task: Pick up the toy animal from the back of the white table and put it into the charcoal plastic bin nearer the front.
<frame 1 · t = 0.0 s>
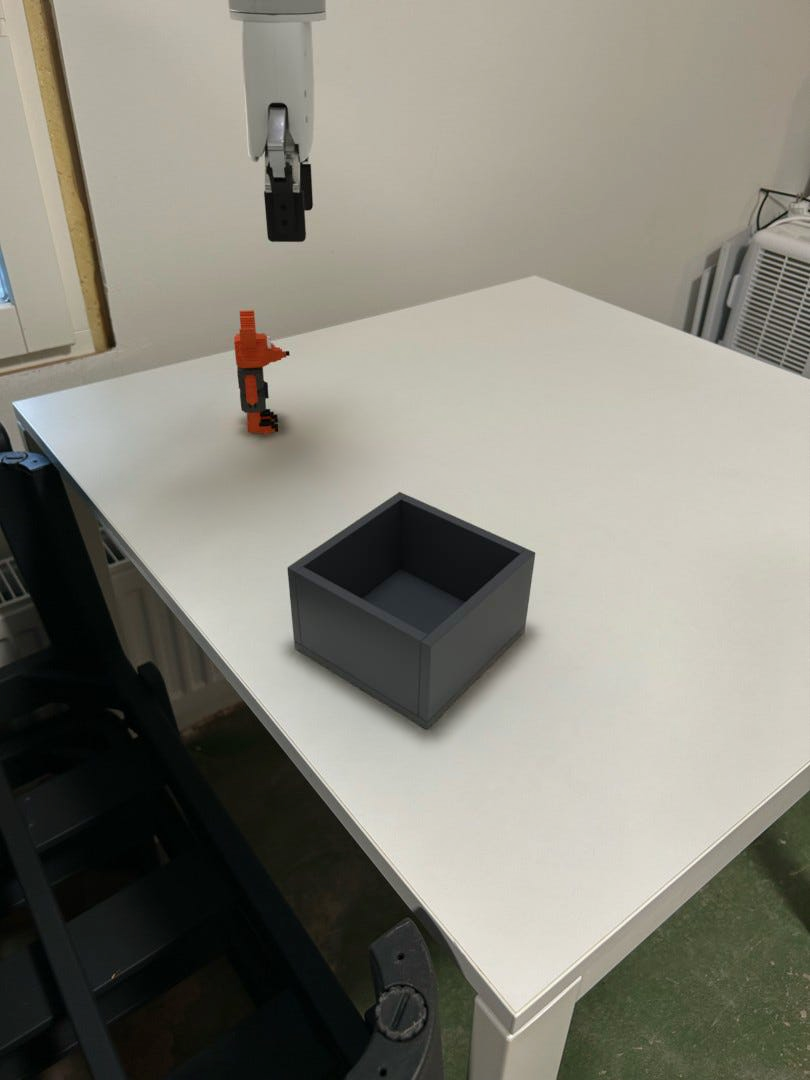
hand: (291, 224, 74), 22 cm above the table, tool pointing down, fingers open, 9 cm apart
toy animal: (269, 426, 90), on the table
bin: (411, 640, 63), on the table
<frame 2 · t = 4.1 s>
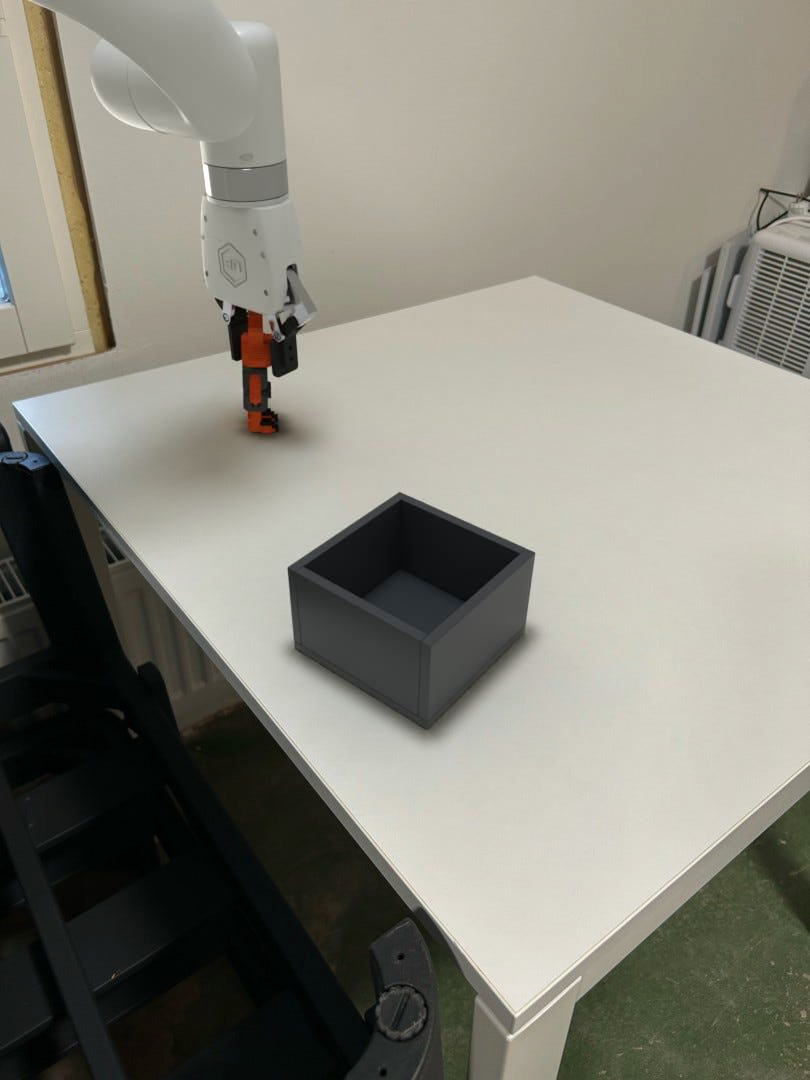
hand: (264, 362, 86), 7 cm above the table, tool pointing down, fingers closed on toy animal, 5 cm apart
toy animal: (269, 425, 90), on the table, touching gripper
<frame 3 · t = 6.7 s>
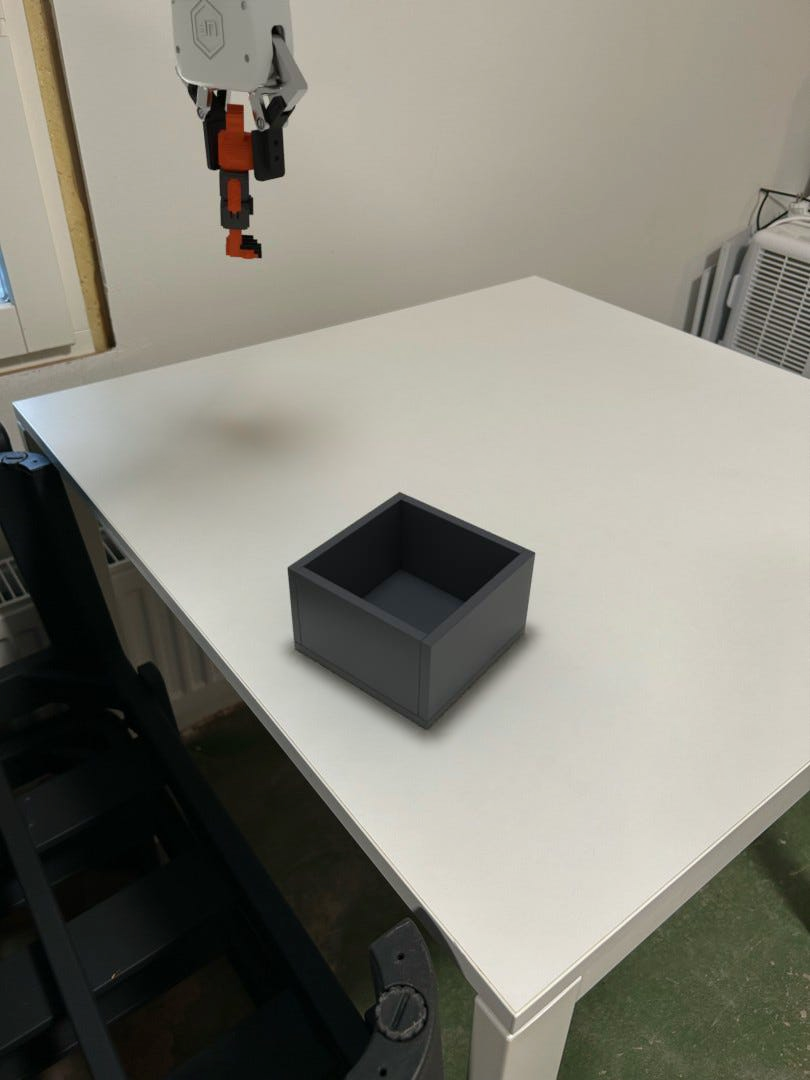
hand: (246, 170, 74), 26 cm above the table, tool pointing down, fingers closed on toy animal, 5 cm apart
toy animal: (251, 254, 78), point 19 cm above the table, touching gripper
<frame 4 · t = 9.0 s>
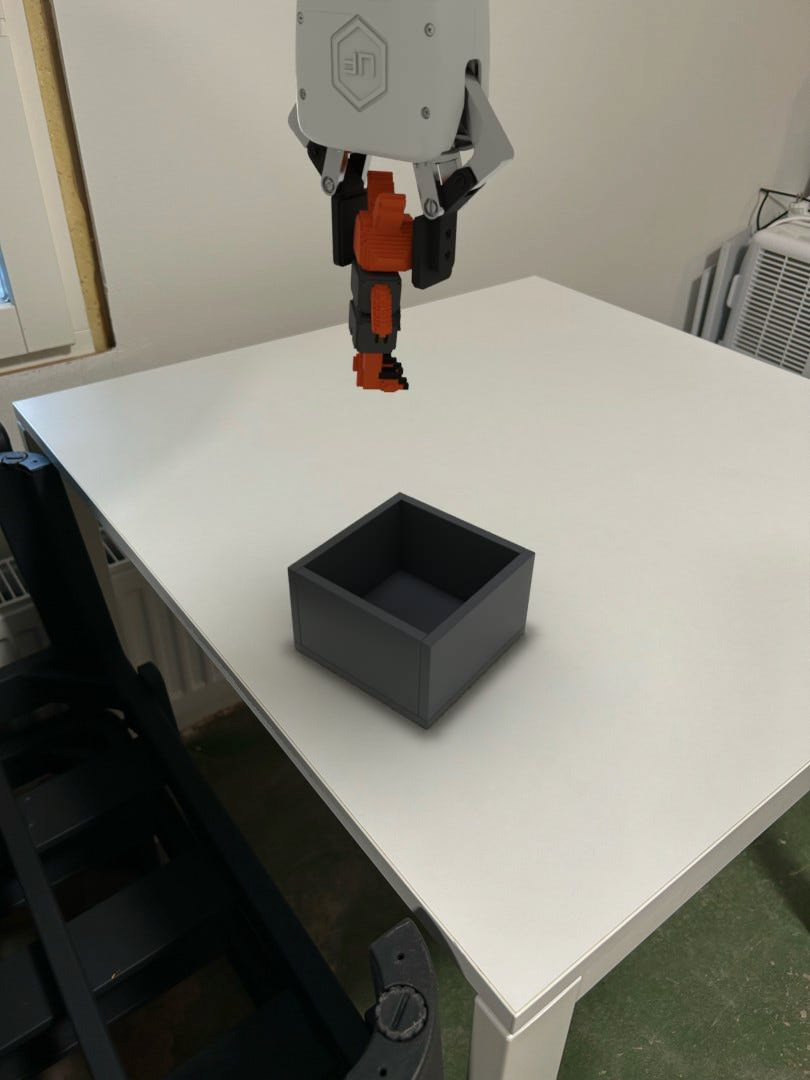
hand: (391, 268, 50), 27 cm above the table, tool pointing down, fingers closed on toy animal, 5 cm apart
toy animal: (390, 380, 54), point 20 cm above the table, touching gripper
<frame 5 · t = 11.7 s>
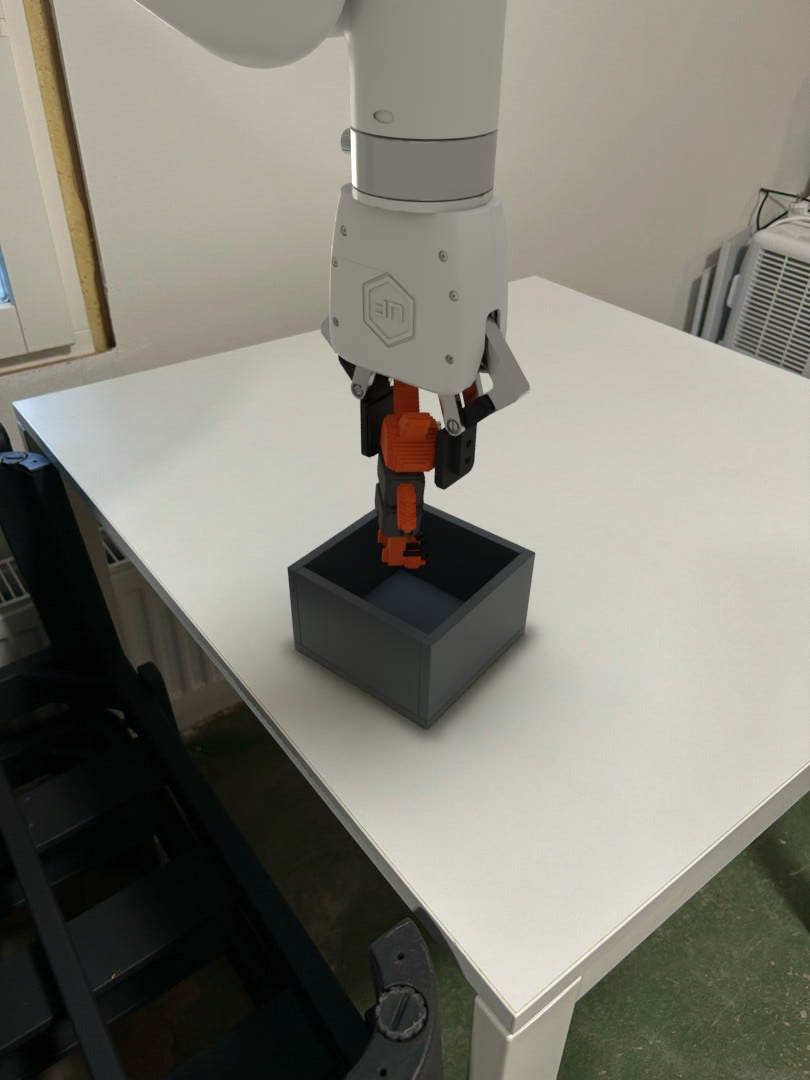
hand: (415, 461, 54), 16 cm above the table, tool pointing down, fingers closed on toy animal, 5 cm apart
toy animal: (413, 552, 58), point 9 cm above the table, touching gripper
when the fingers open (8 cm above the table, at t = 14.0 s): toy animal stays where it is, resting on bin.
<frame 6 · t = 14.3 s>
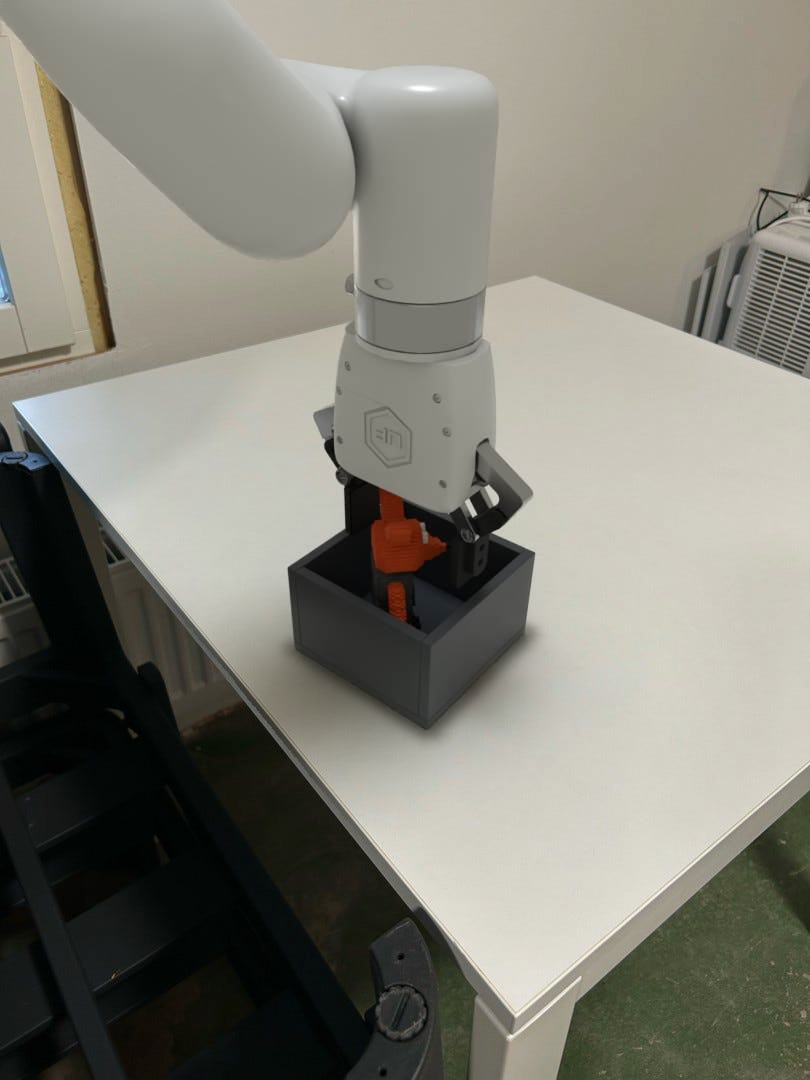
hand: (412, 550, 58), 9 cm above the table, tool pointing down, fingers open, 8 cm apart
toy animal: (410, 636, 63), point 1 cm above the table, touching bin
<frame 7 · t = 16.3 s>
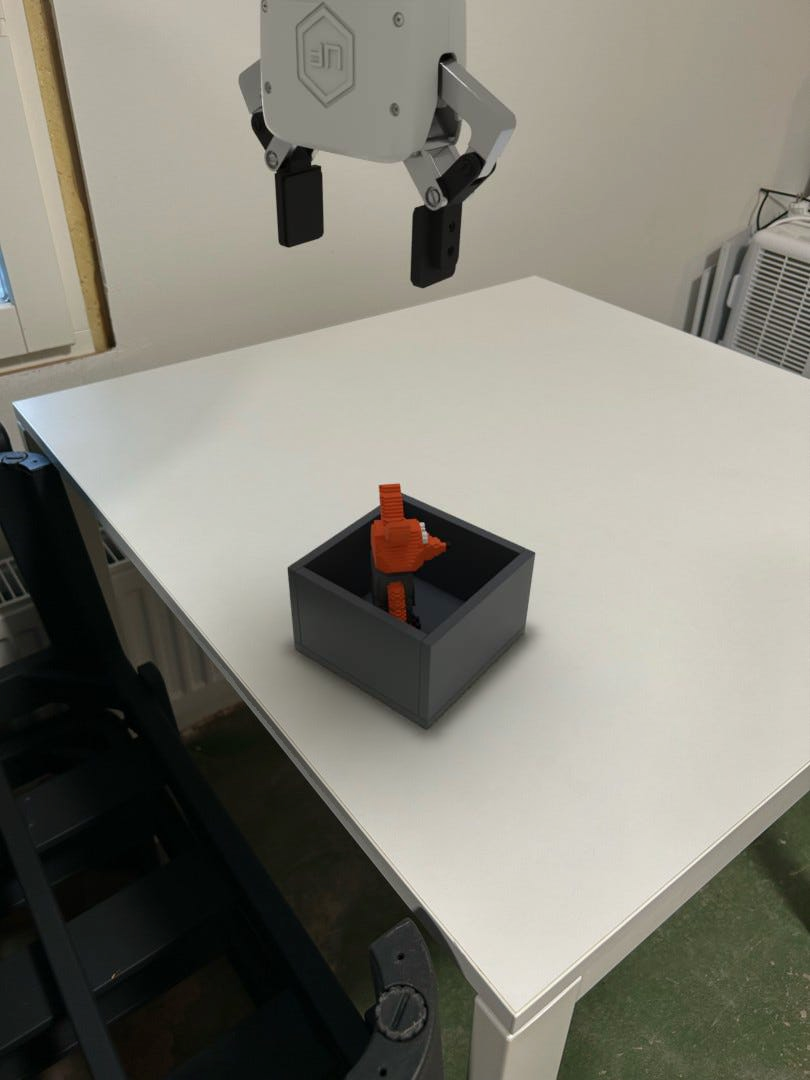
hand: (364, 260, 46), 29 cm above the table, tool pointing down, fingers open, 9 cm apart
nothing on the table moved.
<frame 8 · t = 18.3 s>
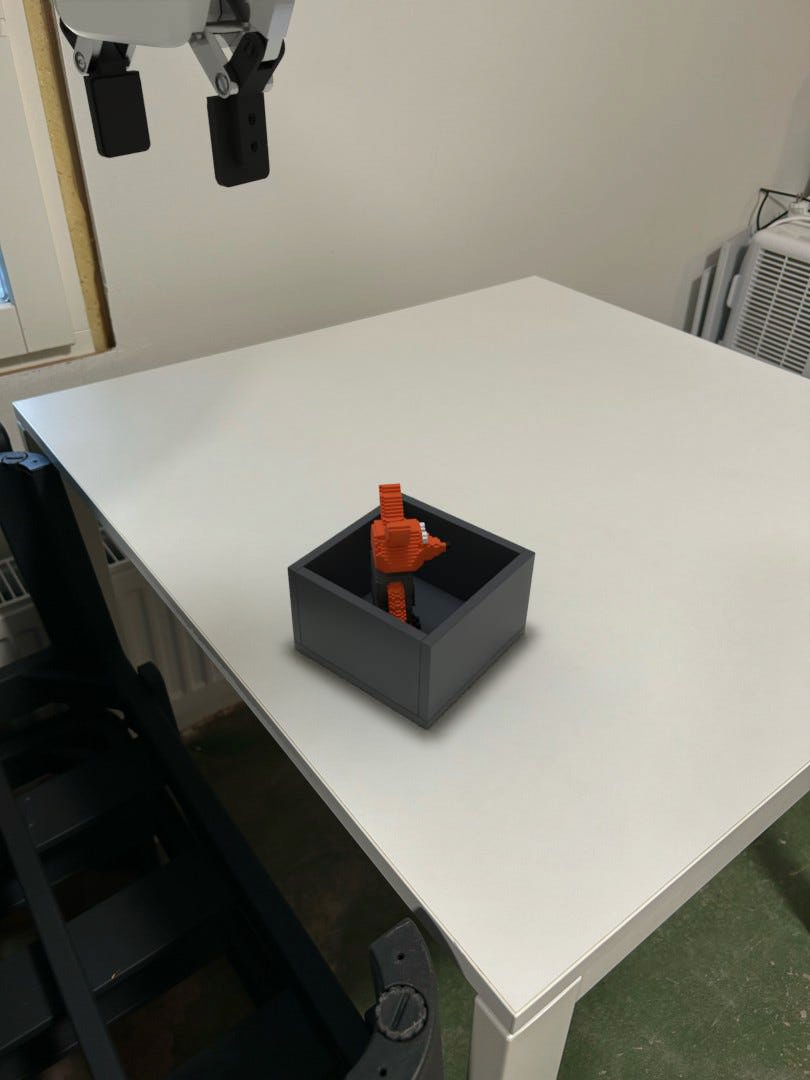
hand: (181, 167, 44), 33 cm above the table, tool pointing down, fingers open, 9 cm apart
nothing on the table moved.
at the end: toy animal inside the target area in the bin (0.3 cm from its centre), point 0.6 cm above the bin's base; the gripper is holding nothing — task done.
